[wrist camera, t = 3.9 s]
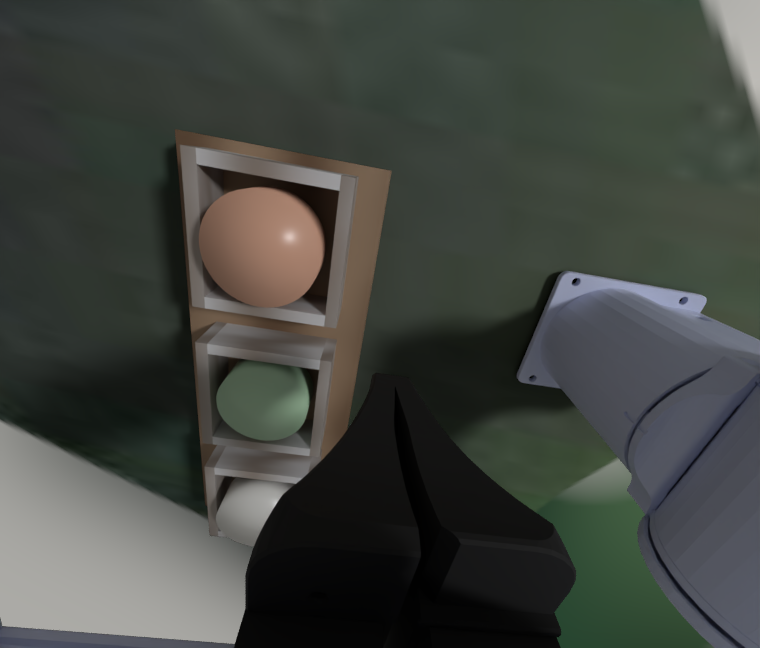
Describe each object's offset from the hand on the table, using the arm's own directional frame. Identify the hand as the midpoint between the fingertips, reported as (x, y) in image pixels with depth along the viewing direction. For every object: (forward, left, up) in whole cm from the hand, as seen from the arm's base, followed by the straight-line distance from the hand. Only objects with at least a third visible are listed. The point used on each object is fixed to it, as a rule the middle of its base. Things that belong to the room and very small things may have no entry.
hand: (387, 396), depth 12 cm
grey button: (+6, +14, -6) cm, 17 cm away
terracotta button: (+6, -3, -6) cm, 9 cm away
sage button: (+6, +5, -7) cm, 11 cm away
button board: (+6, +6, -9) cm, 12 cm away
